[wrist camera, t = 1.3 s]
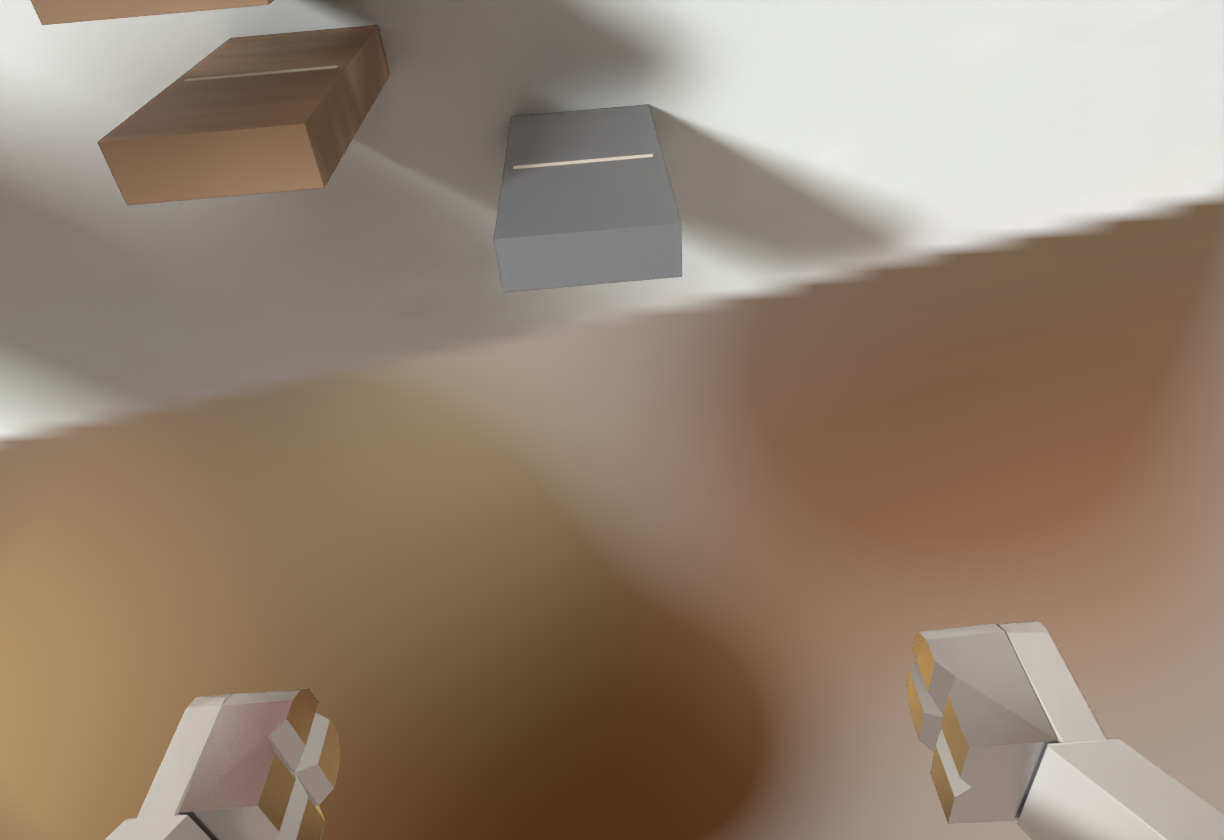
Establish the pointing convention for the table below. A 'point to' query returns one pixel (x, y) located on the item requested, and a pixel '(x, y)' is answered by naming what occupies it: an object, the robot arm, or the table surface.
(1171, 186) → the table surface
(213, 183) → the domino
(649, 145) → the end domino
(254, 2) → the domino
